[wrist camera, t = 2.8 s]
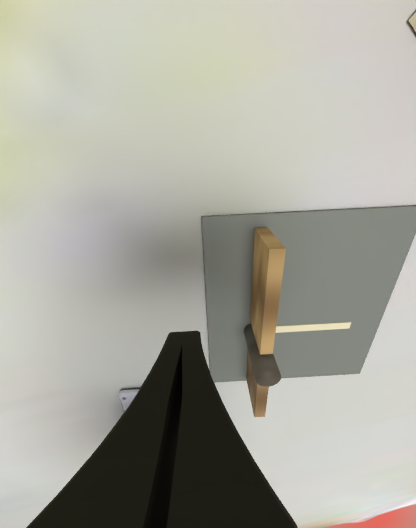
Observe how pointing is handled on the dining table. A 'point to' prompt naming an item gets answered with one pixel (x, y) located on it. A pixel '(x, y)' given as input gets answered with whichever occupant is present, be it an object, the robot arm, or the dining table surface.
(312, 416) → the dining table surface
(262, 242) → the fence panel
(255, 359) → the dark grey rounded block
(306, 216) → the card
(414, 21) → the condiment
